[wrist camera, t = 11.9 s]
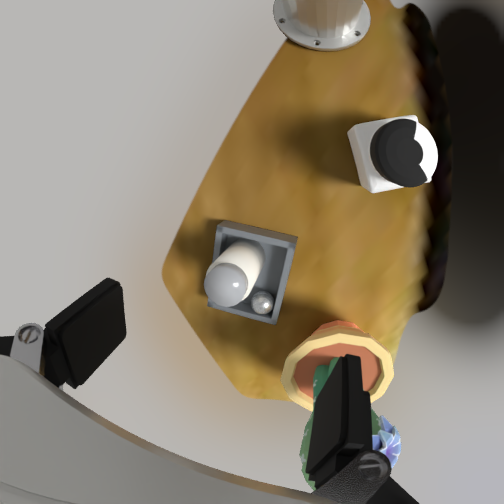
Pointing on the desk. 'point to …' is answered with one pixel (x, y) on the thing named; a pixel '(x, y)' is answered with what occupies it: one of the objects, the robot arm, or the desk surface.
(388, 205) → the desk surface
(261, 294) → the steel ball
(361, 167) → the medicine bottle
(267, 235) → the tray
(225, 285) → the shaker
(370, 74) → the desk surface
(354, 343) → the potted cactus
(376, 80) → the desk surface
